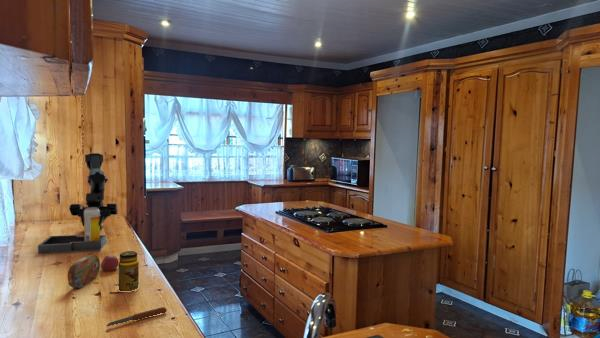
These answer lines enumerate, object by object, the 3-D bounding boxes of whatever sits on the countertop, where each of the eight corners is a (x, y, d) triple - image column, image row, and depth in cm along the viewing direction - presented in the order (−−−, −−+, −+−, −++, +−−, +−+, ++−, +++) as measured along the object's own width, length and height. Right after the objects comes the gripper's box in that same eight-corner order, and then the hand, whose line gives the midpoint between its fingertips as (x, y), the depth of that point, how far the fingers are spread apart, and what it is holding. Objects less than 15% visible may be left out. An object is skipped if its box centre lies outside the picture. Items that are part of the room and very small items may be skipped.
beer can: (102, 240, 173) (102, 207, 172) (95, 244, 167) (94, 210, 166) (89, 239, 173) (89, 206, 172) (81, 243, 167) (80, 209, 166)
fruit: (115, 276, 142) (126, 257, 143) (100, 271, 139) (112, 251, 140) (113, 271, 147) (124, 252, 148) (98, 266, 144) (110, 246, 145)
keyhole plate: (50, 243, 172) (50, 236, 172) (106, 241, 179) (106, 233, 179) (38, 254, 158) (37, 245, 158) (100, 250, 165) (100, 242, 164)
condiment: (137, 292, 124) (137, 256, 123) (109, 293, 122) (108, 257, 121) (141, 283, 131) (141, 249, 130) (114, 285, 129) (114, 250, 128)
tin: (75, 292, 123) (75, 266, 122) (65, 291, 123) (65, 265, 122) (100, 274, 138) (100, 252, 137) (92, 274, 138) (91, 251, 137)
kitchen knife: (165, 312, 111) (165, 305, 111) (166, 314, 110) (166, 307, 110) (105, 328, 101) (105, 321, 101) (107, 330, 100) (106, 323, 100)
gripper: (69, 186, 169) (63, 216, 160) (116, 185, 174) (112, 215, 165) (75, 200, 177) (68, 229, 168) (119, 199, 183) (115, 228, 173)
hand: (91, 225), depth 168 cm, fingers closed on beer can, 6 cm apart
